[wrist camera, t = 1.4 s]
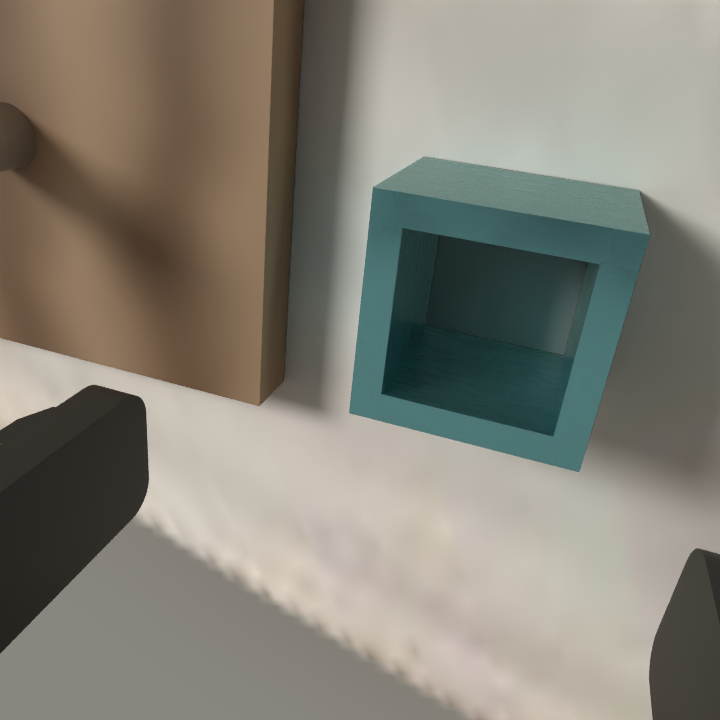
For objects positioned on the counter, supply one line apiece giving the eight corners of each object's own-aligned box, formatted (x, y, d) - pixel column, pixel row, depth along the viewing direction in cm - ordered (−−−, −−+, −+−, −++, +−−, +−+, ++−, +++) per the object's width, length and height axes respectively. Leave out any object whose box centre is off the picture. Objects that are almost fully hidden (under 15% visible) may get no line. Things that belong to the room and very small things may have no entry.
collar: (638, 190, 18) (650, 234, 14) (584, 384, 21) (578, 471, 17) (423, 156, 20) (373, 187, 15) (398, 342, 22) (349, 412, 18)
